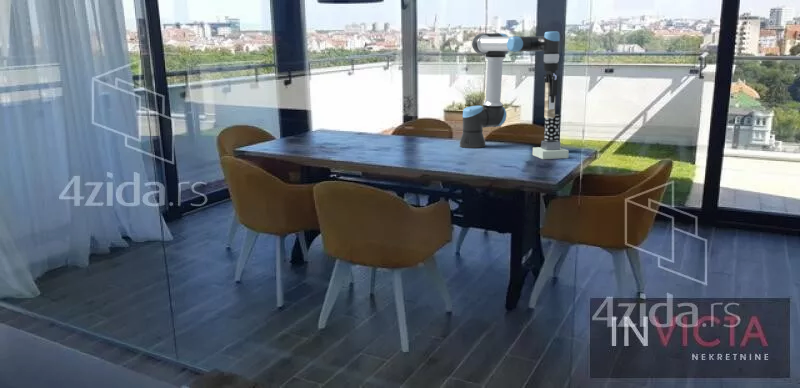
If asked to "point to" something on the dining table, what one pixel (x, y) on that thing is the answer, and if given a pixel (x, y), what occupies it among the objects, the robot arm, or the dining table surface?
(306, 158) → the dining table surface
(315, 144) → the dining table surface
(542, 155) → the mounting block
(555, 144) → the cup bracket
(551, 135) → the spotted tube
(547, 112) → the rail post
